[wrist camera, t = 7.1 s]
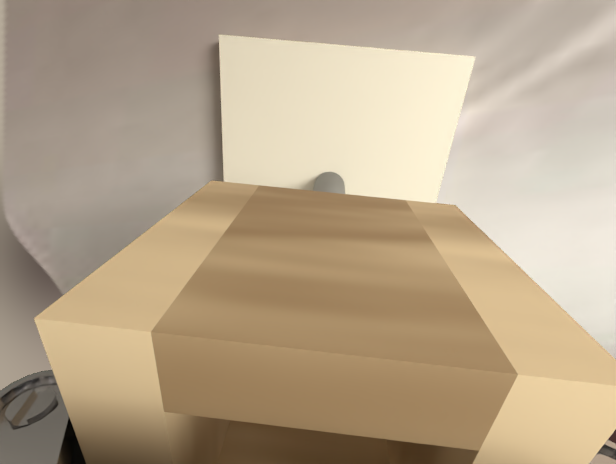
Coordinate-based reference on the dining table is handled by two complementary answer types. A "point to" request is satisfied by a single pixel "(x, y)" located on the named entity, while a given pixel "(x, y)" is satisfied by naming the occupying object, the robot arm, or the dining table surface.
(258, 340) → the bead
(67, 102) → the dining table surface
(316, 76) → the rod stand
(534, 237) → the dining table surface
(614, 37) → the dining table surface
